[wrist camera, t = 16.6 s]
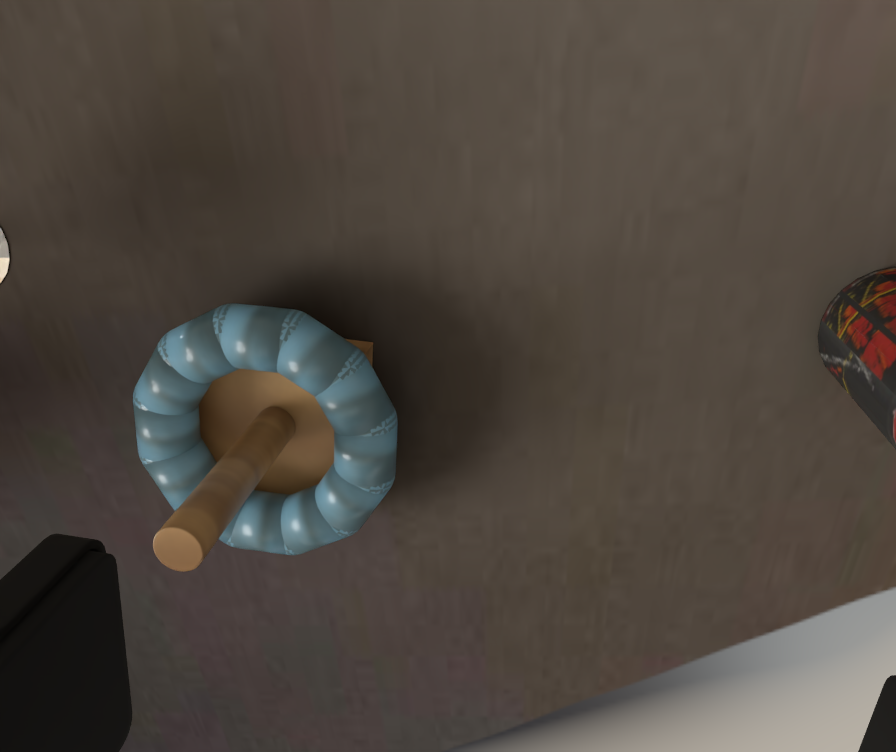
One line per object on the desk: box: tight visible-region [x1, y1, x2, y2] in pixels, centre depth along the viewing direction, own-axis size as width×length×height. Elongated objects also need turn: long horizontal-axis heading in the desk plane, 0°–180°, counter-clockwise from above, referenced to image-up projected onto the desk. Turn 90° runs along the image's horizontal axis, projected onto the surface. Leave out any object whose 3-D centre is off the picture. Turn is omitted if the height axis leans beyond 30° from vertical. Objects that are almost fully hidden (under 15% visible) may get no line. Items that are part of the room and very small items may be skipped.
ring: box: [133, 303, 398, 555], centre depth 38 cm, size 13×13×3 cm
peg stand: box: [153, 339, 373, 571], centre depth 35 cm, size 9×9×12 cm
